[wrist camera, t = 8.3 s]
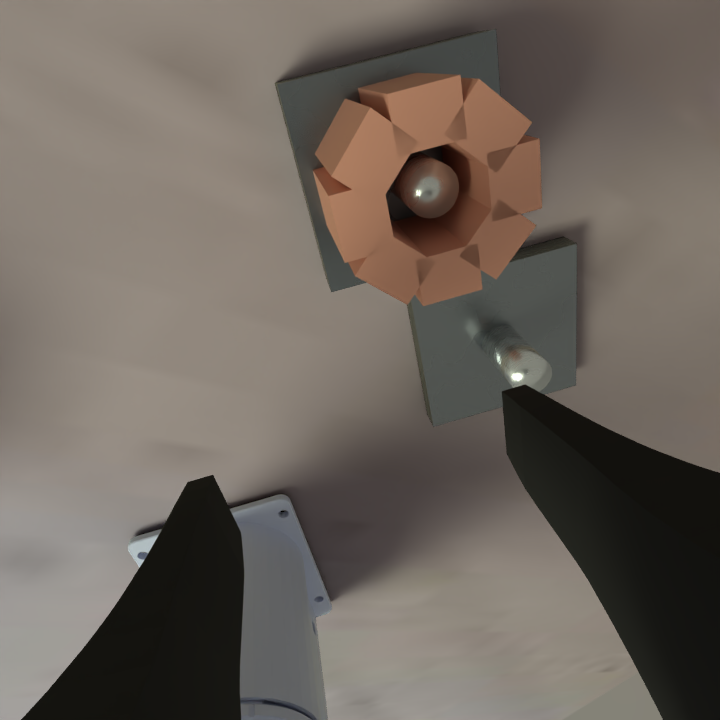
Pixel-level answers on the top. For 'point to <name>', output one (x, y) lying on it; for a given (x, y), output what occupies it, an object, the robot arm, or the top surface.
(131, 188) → the top surface
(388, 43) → the top surface
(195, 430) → the top surface
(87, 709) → the robot arm
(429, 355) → the stand
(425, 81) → the ring
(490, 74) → the square peg base
